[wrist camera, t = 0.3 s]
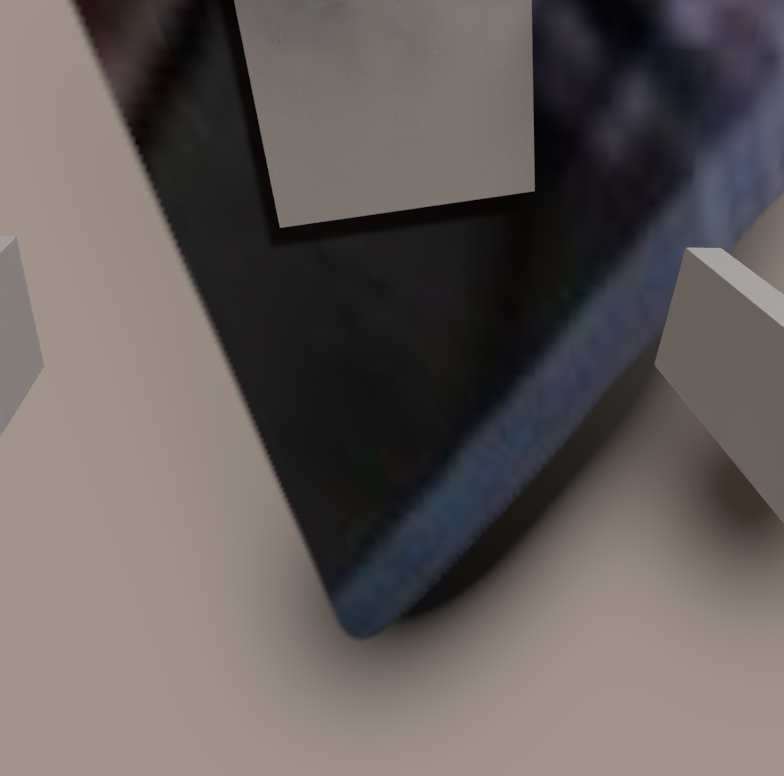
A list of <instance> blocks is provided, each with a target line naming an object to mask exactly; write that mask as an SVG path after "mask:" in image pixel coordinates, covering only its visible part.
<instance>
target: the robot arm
mask: <svg viewBox="0 0 784 776" xmlns="http://www.w3.org/2000/svg"><path fill="white" fill-rule="evenodd" d="M655 366H656V367H657V368H658V370H659V371H660V372H661V373H662V375H663V376H664V377H665V378H666V380H667V381H668V382H669V383H670V384H671V386H672V387H673V388H674V389H675V390H676V392H677V393H678V394H679V395H680V397H681V398H682V399H683V400H684V402H685V403H686V404H687V405H688V406H689V408H690V409H691V410H692V411H693V413H694V414H695V415H696V416H697V418H698V419H699V420H700V421H701V422H702V424H703V425H704V426H705V427H706V429H707V430H708V431H709V432H710V433H711V435H712V436H713V437H714V438H715V440H716V441H717V442H718V443H719V444H720V446H721V447H722V448H723V449H724V451H725V452H726V453H727V454H728V455H729V457H730V458H731V459H732V460H733V462H734V463H735V464H736V465H737V466H738V468H739V469H740V470H741V471H742V473H743V474H744V475H745V476H746V478H747V479H748V480H749V481H750V483H751V484H752V485H753V486H754V487H755V489H756V490H757V491H758V492H759V494H760V495H761V496H762V497H763V498H764V500H765V501H766V502H767V503H768V505H769V506H770V507H771V508H772V509H773V511H774V512H775V513H776V514H777V516H778V517H779V518H780V519H781V521H782V522H783V523H784V295H783V294H782V293H780V292H779V291H778V290H776V289H775V288H774V287H772V286H771V285H770V284H768V283H767V282H765V281H764V280H763V279H762V278H760V277H759V276H758V275H756V274H755V273H753V272H752V271H751V270H749V269H748V268H747V267H745V266H744V265H743V264H741V263H740V262H739V261H737V260H736V259H735V258H733V257H732V256H731V255H729V254H728V253H727V252H725V251H724V250H723V249H721V248H686V249H685V253H684V256H683V260H682V264H681V268H680V271H679V275H678V279H677V283H676V286H675V290H674V294H673V298H672V301H671V305H670V309H669V313H668V316H667V320H666V324H665V328H664V331H663V335H662V339H661V343H660V346H659V350H658V354H657V357H656V361H655ZM43 367H44V363H43V358H42V353H41V349H40V344H39V340H38V335H37V331H36V326H35V321H34V317H33V313H32V308H31V303H30V298H29V294H28V289H27V285H26V280H25V276H24V271H23V266H22V262H21V257H20V252H19V248H18V243H17V239H16V237H0V436H1V434H2V432H3V431H4V430H5V428H6V426H7V425H8V423H9V421H10V420H11V418H12V417H13V415H14V414H15V412H16V410H17V409H18V407H19V406H20V404H21V402H22V401H23V399H24V397H25V396H26V394H27V393H28V391H29V389H30V388H31V386H32V385H33V383H34V381H35V380H36V378H37V377H38V375H39V373H40V372H41V370H42V369H43Z"/></svg>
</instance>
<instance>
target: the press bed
mask: <svg viewBox="0 0 784 776" xmlns="http://www.w3.org/2000/svg"><path fill="white" fill-rule="evenodd" d="M234 2H235V7H236V12H237V17H238V22H239V27H240V32H241V37H242V42H243V47H244V52H245V57H246V62H247V67H248V72H249V77H250V82H251V87H252V92H253V97H254V102H255V107H256V112H257V117H258V122H259V127H260V131H261V136H262V141H263V146H264V151H265V156H266V161H267V166H268V171H269V176H270V181H271V186H272V191H273V196H274V201H275V206H276V211H277V216H278V221H279V226H280V228H283V227H290V226H297V225H303V224H310V223H317V222H324V221H331V220H338V219H345V218H352V217H359V216H366V215H373V214H380V213H387V212H394V211H401V210H407V209H414V208H421V207H428V206H435V205H442V204H449V203H456V202H463V201H470V200H477V199H484V198H491V197H498V196H505V195H511V194H518V193H525V192H532V191H535V174H534V114H533V54H532V0H234Z"/></svg>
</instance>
